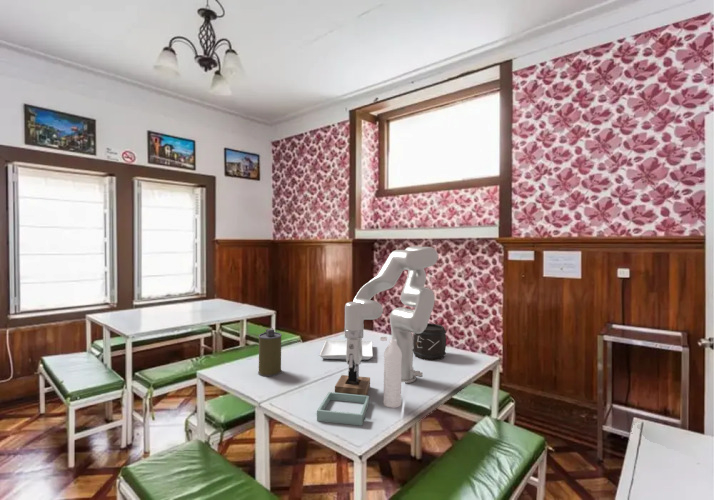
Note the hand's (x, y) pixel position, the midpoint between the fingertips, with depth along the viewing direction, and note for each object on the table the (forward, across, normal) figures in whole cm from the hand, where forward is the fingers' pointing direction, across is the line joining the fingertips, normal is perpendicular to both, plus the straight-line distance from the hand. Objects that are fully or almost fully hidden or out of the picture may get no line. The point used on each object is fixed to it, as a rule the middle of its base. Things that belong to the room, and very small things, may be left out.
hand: (353, 378), depth 147 cm
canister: (+6, +15, +42) cm, 45 cm away
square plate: (+7, +51, +13) cm, 53 cm away
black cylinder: (+7, +57, -30) cm, 65 cm away
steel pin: (+5, 0, 0) cm, 5 cm away
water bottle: (+7, -7, -15) cm, 18 cm away
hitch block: (+6, 0, 0) cm, 6 cm away
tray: (+6, -16, 0) cm, 17 cm away
